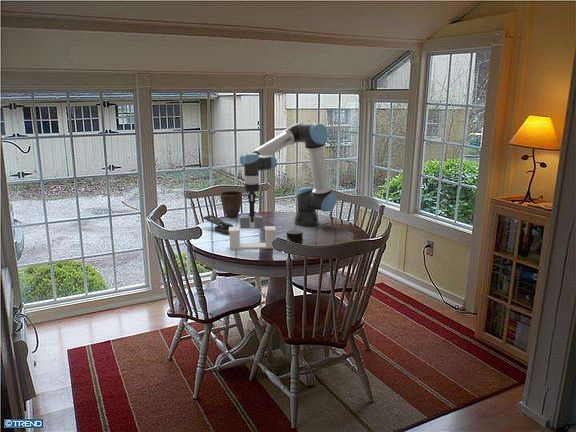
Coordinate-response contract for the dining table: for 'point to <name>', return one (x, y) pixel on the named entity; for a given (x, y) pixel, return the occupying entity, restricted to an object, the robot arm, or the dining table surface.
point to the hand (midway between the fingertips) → (252, 226)
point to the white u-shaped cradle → (237, 245)
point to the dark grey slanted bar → (220, 228)
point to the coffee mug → (295, 236)
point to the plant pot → (231, 203)
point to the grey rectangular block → (246, 222)
